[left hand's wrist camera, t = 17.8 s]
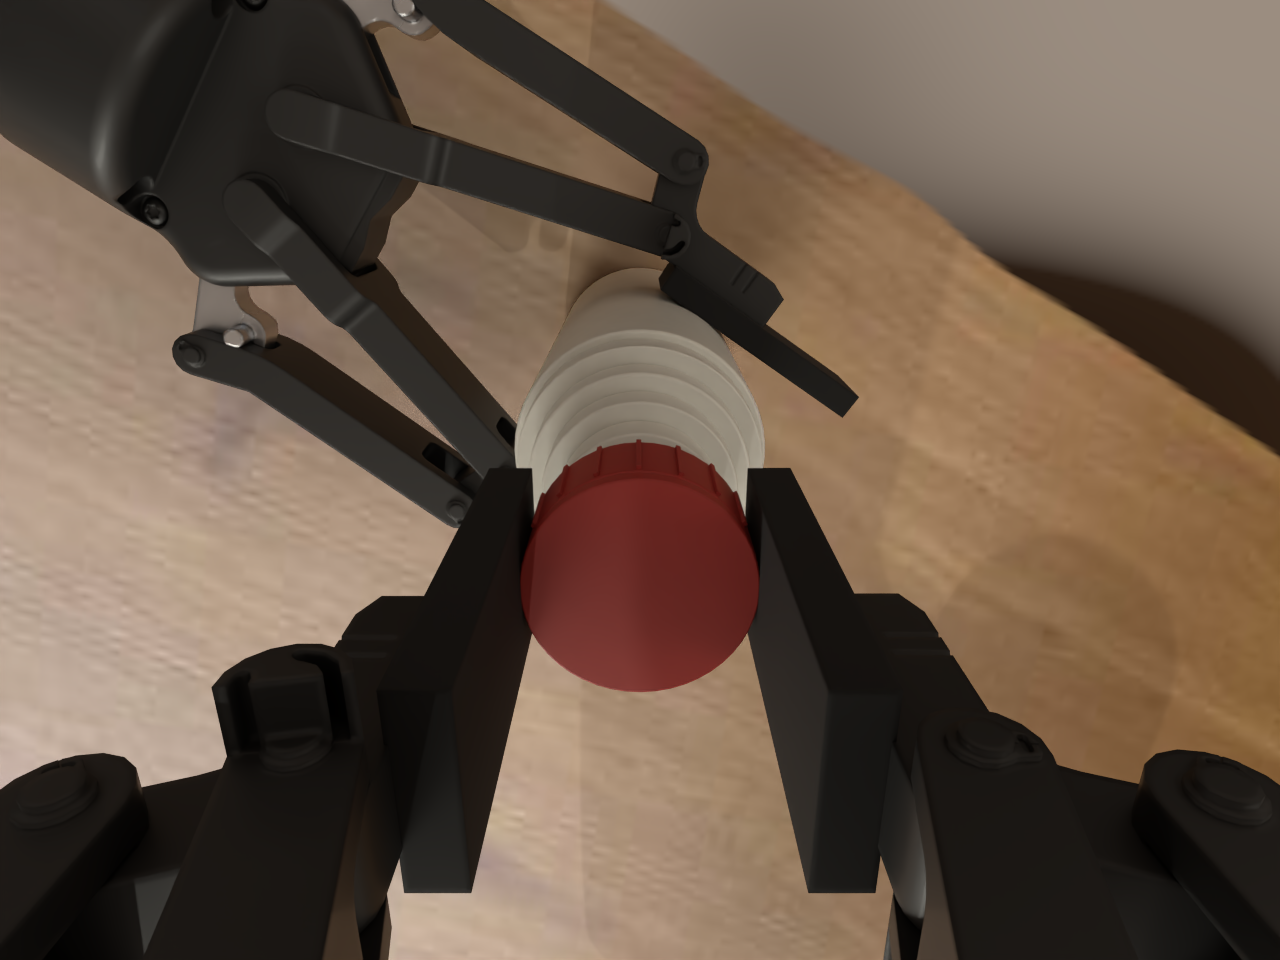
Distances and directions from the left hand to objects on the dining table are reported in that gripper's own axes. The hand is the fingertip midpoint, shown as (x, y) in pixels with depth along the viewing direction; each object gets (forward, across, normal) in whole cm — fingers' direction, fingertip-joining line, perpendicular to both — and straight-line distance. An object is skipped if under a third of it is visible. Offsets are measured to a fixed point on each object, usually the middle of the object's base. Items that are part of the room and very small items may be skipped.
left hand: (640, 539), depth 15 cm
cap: (-2, 0, 0) cm, 2 cm away
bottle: (+17, 0, 0) cm, 17 cm away
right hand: (+11, -4, +3) cm, 12 cm away
